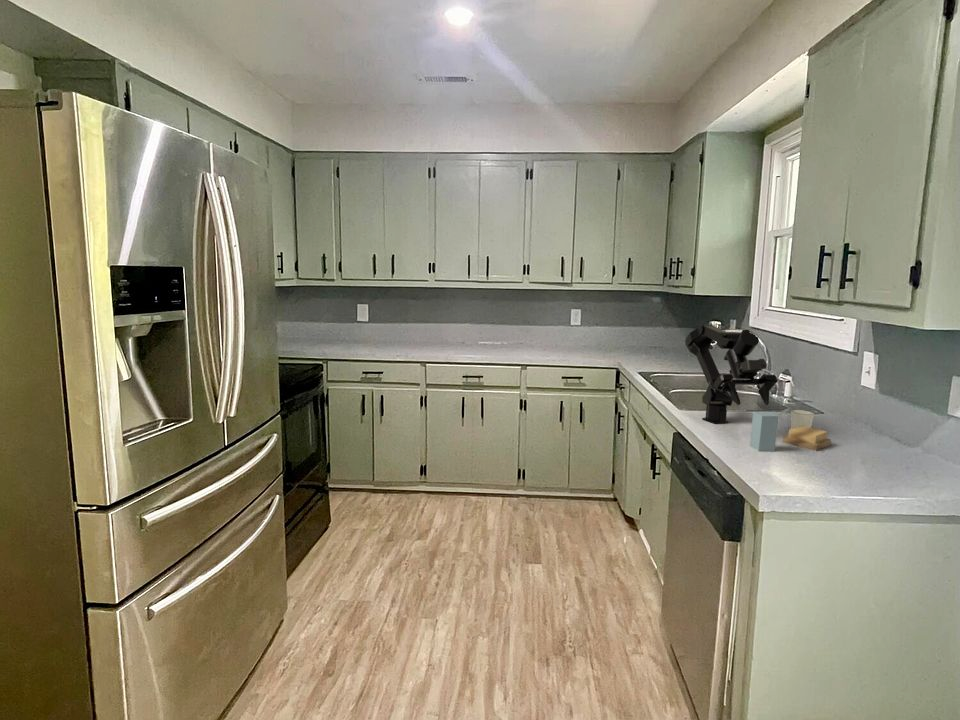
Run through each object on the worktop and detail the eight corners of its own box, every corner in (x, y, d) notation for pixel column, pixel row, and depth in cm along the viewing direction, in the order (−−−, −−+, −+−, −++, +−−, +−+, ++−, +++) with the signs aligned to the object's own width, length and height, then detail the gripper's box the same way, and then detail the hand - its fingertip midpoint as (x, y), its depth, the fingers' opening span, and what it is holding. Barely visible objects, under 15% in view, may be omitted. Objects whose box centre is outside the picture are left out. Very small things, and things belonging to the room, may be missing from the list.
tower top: (788, 437, 181) (789, 429, 180) (799, 433, 186) (800, 425, 185) (815, 443, 175) (816, 435, 174) (826, 439, 180) (827, 431, 179)
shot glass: (804, 429, 197) (806, 409, 196) (816, 435, 190) (818, 414, 189) (784, 428, 197) (787, 409, 196) (796, 434, 190) (798, 414, 189)
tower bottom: (782, 444, 182) (783, 436, 181) (796, 438, 188) (797, 431, 187) (815, 452, 174) (816, 444, 174) (829, 446, 180) (830, 439, 180)
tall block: (749, 446, 177) (753, 411, 175) (765, 446, 177) (769, 411, 176) (758, 451, 172) (762, 416, 170) (774, 451, 173) (778, 416, 171)
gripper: (721, 349, 182) (735, 390, 173) (777, 349, 183) (794, 391, 174) (708, 369, 191) (720, 409, 182) (761, 369, 192) (777, 409, 183)
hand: (753, 404), depth 180 cm, fingers open, 9 cm apart
